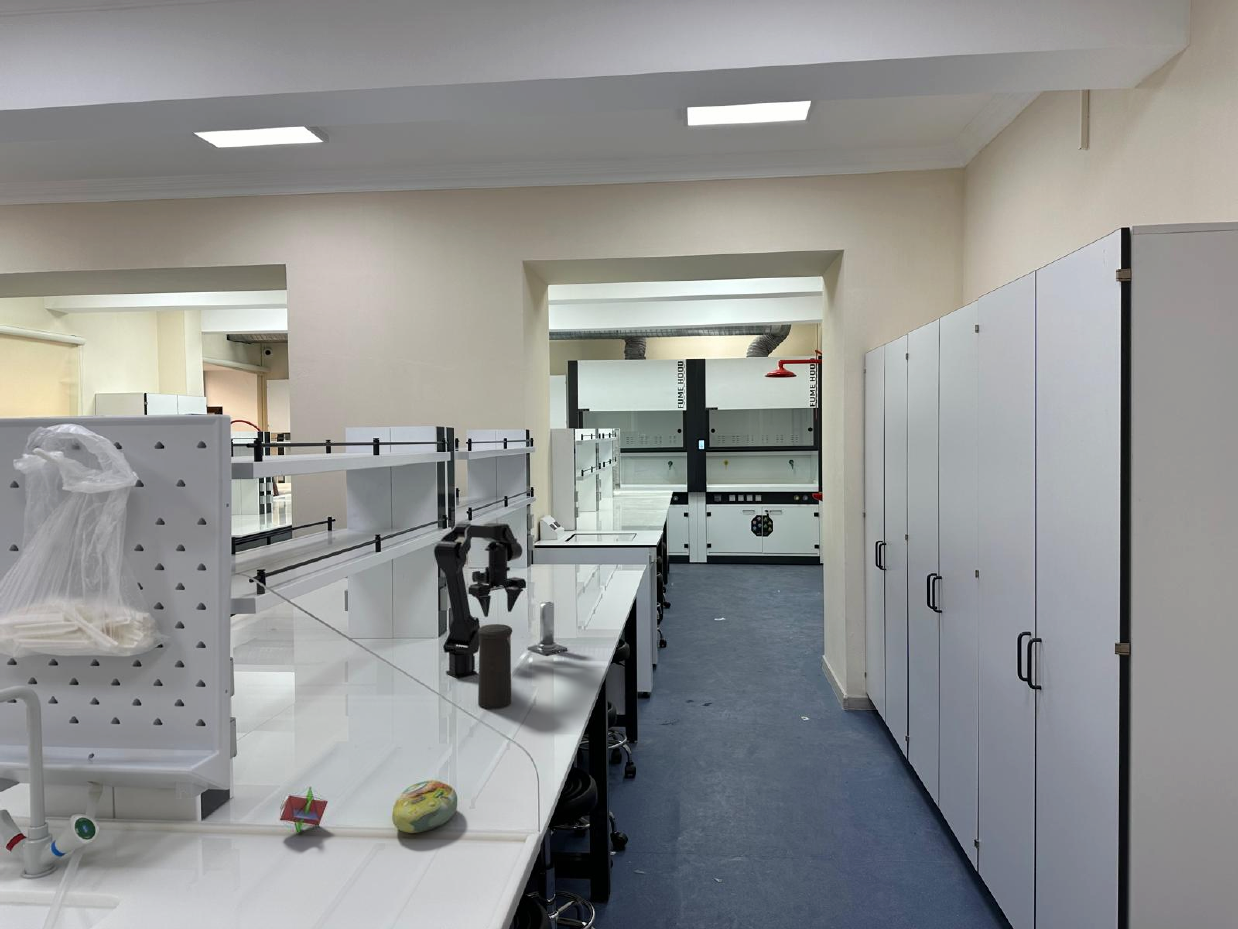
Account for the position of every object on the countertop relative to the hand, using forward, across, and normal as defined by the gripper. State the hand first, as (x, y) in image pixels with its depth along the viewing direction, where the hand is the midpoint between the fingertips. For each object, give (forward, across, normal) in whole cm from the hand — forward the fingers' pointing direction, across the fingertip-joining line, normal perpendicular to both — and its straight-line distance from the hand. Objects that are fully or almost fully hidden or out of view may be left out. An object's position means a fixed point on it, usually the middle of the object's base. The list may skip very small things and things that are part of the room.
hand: (497, 614), depth 240 cm
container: (+13, +28, +33) cm, 45 cm away
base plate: (+13, -15, +6) cm, 21 cm away
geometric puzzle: (+13, +90, +57) cm, 108 cm away
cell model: (+13, +74, +70) cm, 103 cm away
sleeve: (+12, -15, +6) cm, 20 cm away
